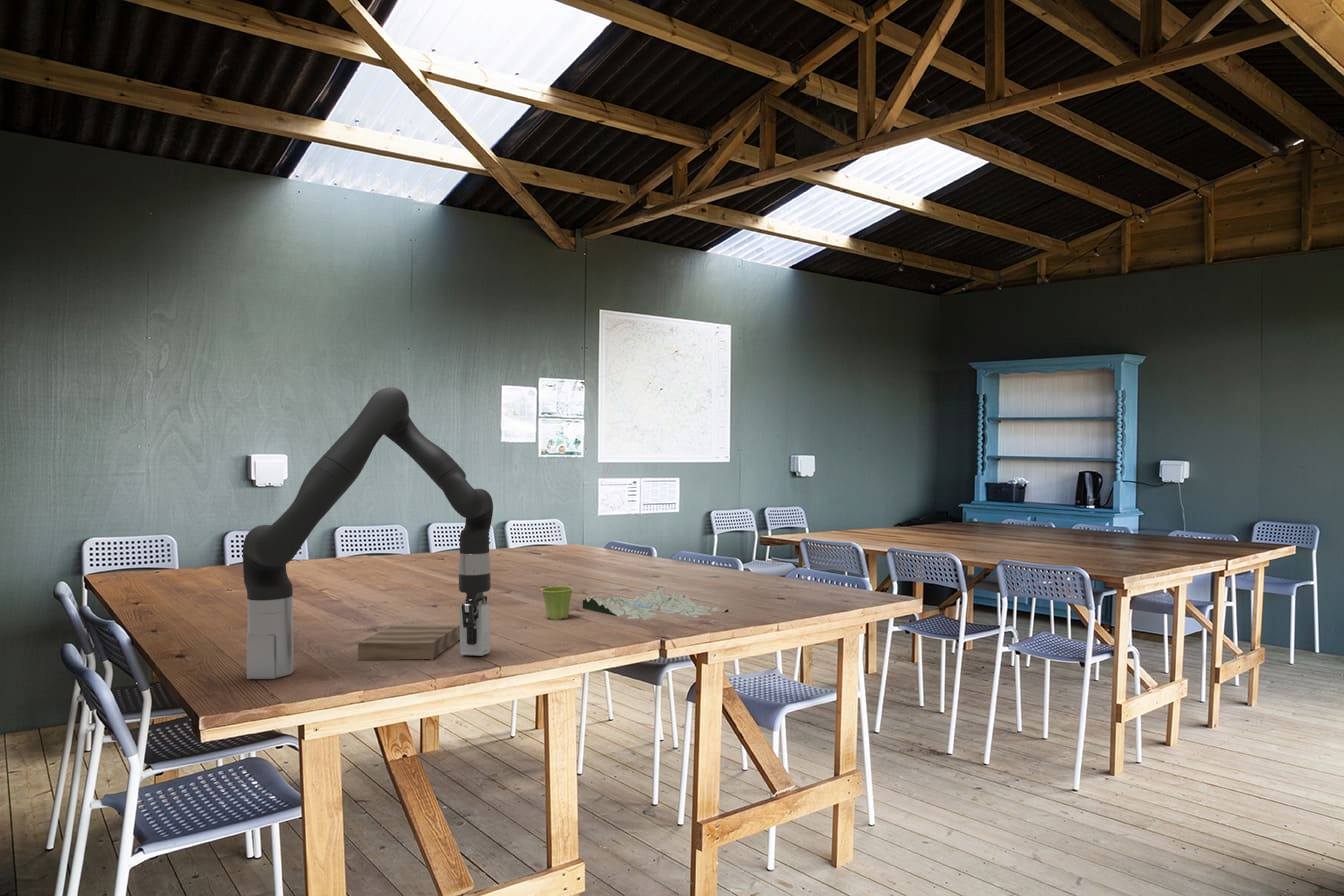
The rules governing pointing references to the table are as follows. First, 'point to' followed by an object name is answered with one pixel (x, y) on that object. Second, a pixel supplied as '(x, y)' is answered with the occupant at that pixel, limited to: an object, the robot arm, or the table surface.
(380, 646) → the walnut stand
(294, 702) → the table surface
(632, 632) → the table surface
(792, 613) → the table surface
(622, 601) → the topographic map model
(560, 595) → the plant pot
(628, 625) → the table surface
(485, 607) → the skincare box
